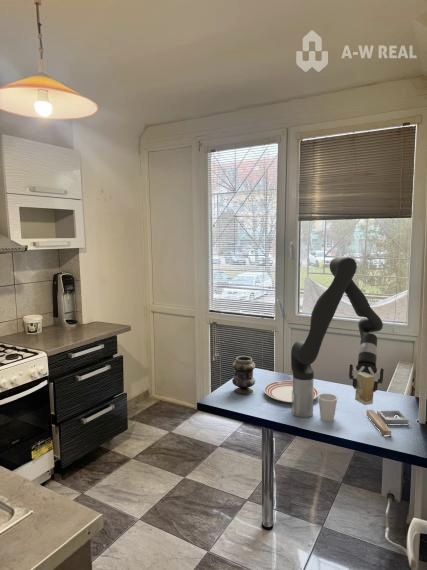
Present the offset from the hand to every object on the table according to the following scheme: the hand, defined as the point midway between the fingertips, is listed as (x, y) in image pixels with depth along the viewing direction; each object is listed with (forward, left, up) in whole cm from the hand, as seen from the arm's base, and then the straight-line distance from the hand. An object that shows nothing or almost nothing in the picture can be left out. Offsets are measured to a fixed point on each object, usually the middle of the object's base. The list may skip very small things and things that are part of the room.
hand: (364, 389), depth 165 cm
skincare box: (0, +1, -6) cm, 6 cm away
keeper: (+15, +6, -16) cm, 23 cm away
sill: (+7, +1, -16) cm, 18 cm away
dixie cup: (-13, +7, -16) cm, 22 cm away
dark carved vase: (-49, +38, -16) cm, 65 cm away
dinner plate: (-25, +33, -17) cm, 45 cm away
